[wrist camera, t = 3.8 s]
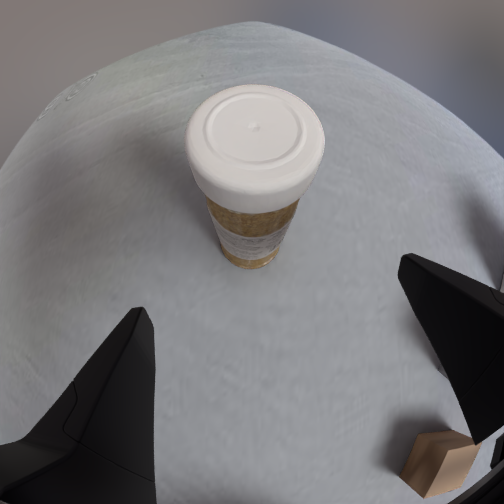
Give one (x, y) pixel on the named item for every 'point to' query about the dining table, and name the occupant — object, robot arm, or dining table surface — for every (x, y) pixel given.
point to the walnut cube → (439, 462)
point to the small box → (502, 286)
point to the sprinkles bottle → (253, 165)
